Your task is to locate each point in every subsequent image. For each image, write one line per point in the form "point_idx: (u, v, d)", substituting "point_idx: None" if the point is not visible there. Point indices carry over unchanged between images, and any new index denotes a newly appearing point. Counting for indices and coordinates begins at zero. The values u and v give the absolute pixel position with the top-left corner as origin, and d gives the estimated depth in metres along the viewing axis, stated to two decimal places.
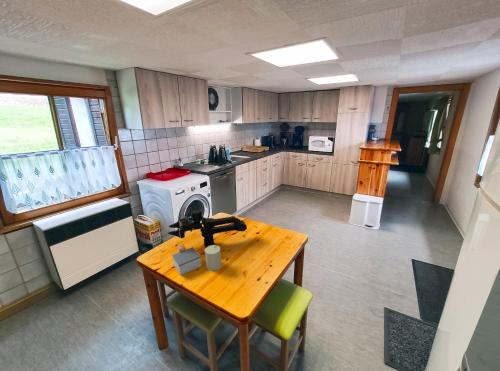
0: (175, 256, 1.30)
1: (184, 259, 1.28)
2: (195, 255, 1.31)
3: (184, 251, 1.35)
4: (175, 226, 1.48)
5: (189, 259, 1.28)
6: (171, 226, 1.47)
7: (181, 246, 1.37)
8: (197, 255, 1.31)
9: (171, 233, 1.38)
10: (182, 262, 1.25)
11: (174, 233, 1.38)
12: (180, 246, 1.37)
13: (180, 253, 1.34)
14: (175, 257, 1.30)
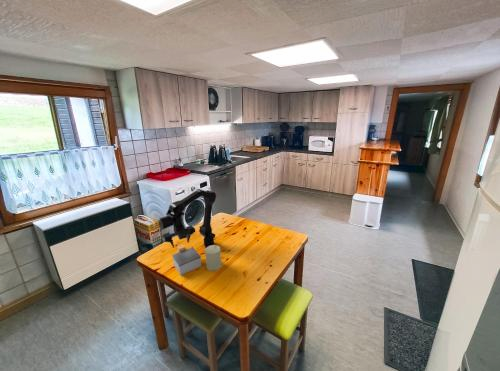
0: (175, 256, 1.30)
1: (184, 259, 1.28)
2: (195, 255, 1.31)
3: (184, 251, 1.35)
4: None
5: (189, 259, 1.28)
6: (173, 245, 1.34)
7: (181, 246, 1.37)
8: (197, 255, 1.31)
9: None
10: (182, 262, 1.25)
11: None
12: (180, 246, 1.37)
13: (180, 253, 1.34)
14: (175, 257, 1.30)
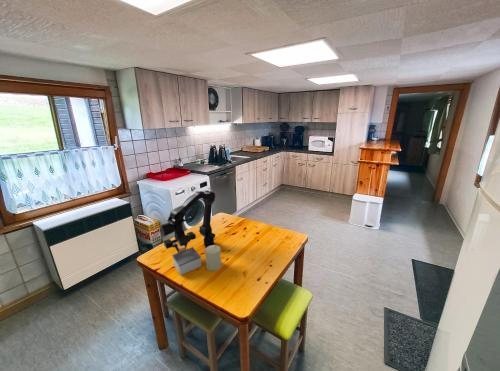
0: (175, 256, 1.30)
1: (184, 259, 1.28)
2: (195, 255, 1.31)
3: (184, 251, 1.35)
4: None
5: (189, 259, 1.28)
6: None
7: (181, 246, 1.37)
8: (197, 255, 1.31)
9: None
10: (182, 262, 1.25)
11: None
12: (180, 246, 1.37)
13: (180, 253, 1.34)
14: (175, 257, 1.30)
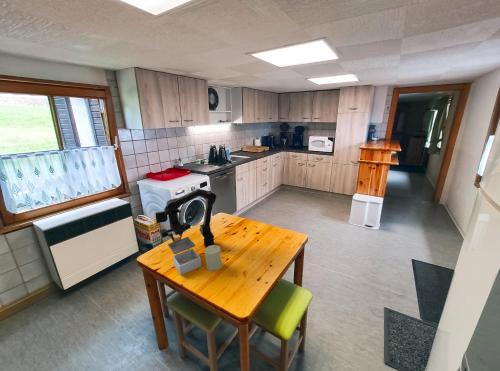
0: (171, 245, 1.35)
1: (179, 247, 1.32)
2: (190, 244, 1.36)
3: (179, 240, 1.40)
4: None
5: (184, 247, 1.32)
6: None
7: (176, 236, 1.42)
8: (192, 244, 1.36)
9: None
10: (177, 250, 1.30)
11: None
12: (175, 236, 1.42)
13: (175, 242, 1.38)
14: (170, 246, 1.34)
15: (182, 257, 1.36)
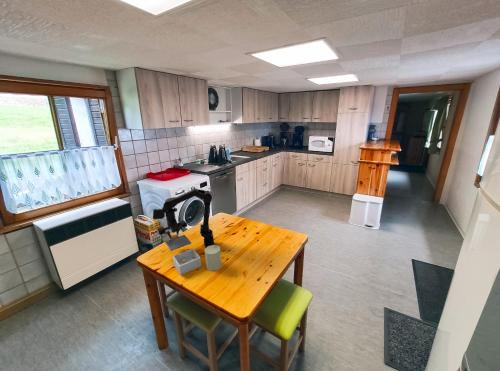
0: (168, 242, 1.40)
1: (176, 244, 1.38)
2: (186, 241, 1.41)
3: (176, 238, 1.45)
4: None
5: (180, 244, 1.38)
6: (170, 237, 1.47)
7: (173, 233, 1.47)
8: (188, 241, 1.41)
9: None
10: (174, 247, 1.35)
11: None
12: (172, 233, 1.47)
13: (172, 239, 1.43)
14: (167, 243, 1.40)
15: (182, 257, 1.36)
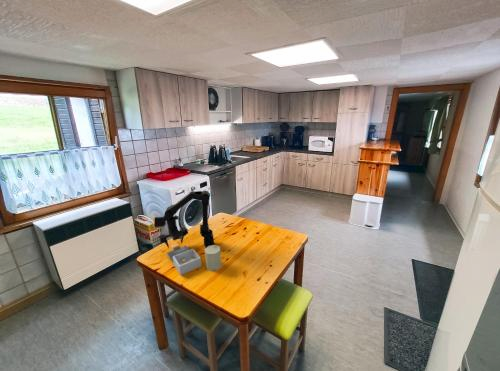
0: (170, 254, 1.43)
1: None
2: None
3: (178, 249, 1.48)
4: None
5: None
6: None
7: (175, 244, 1.50)
8: None
9: None
10: None
11: None
12: (174, 244, 1.50)
13: (174, 251, 1.46)
14: (169, 254, 1.43)
15: (182, 257, 1.36)
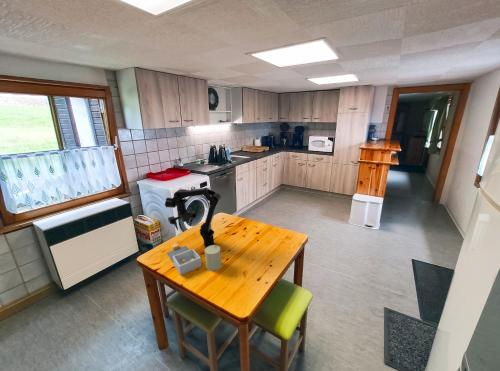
0: (170, 254, 1.43)
1: None
2: None
3: (178, 249, 1.48)
4: None
5: None
6: None
7: (175, 244, 1.50)
8: None
9: None
10: None
11: None
12: (174, 244, 1.50)
13: (174, 251, 1.46)
14: (169, 254, 1.43)
15: (182, 257, 1.36)
